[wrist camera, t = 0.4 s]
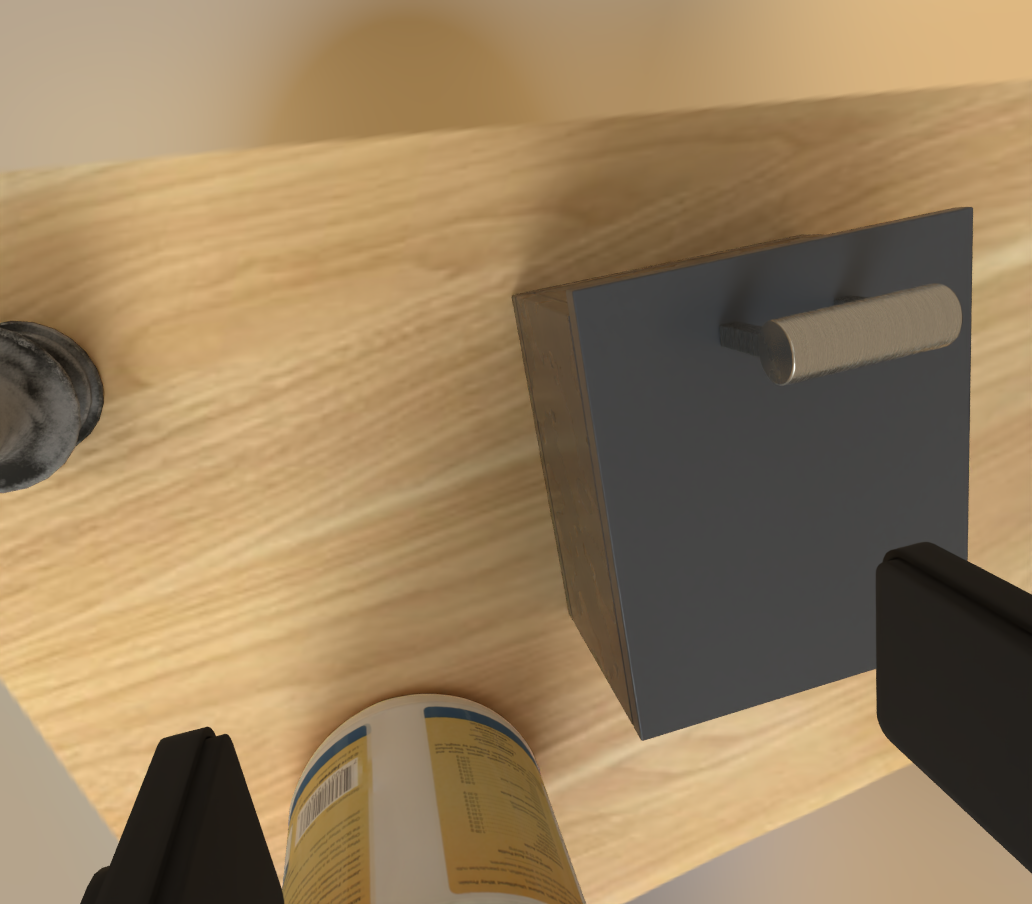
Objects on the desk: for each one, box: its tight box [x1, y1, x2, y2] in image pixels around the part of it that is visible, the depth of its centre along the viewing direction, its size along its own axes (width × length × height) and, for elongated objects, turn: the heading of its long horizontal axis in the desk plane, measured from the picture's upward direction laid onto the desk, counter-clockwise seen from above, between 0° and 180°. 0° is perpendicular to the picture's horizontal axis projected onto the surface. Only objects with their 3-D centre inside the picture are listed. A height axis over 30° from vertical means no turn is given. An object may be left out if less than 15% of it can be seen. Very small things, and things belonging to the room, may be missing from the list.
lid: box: [566, 207, 973, 741], centre depth 23 cm, size 16×14×5 cm
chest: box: [512, 234, 827, 725], centre depth 30 cm, size 16×14×9 cm
